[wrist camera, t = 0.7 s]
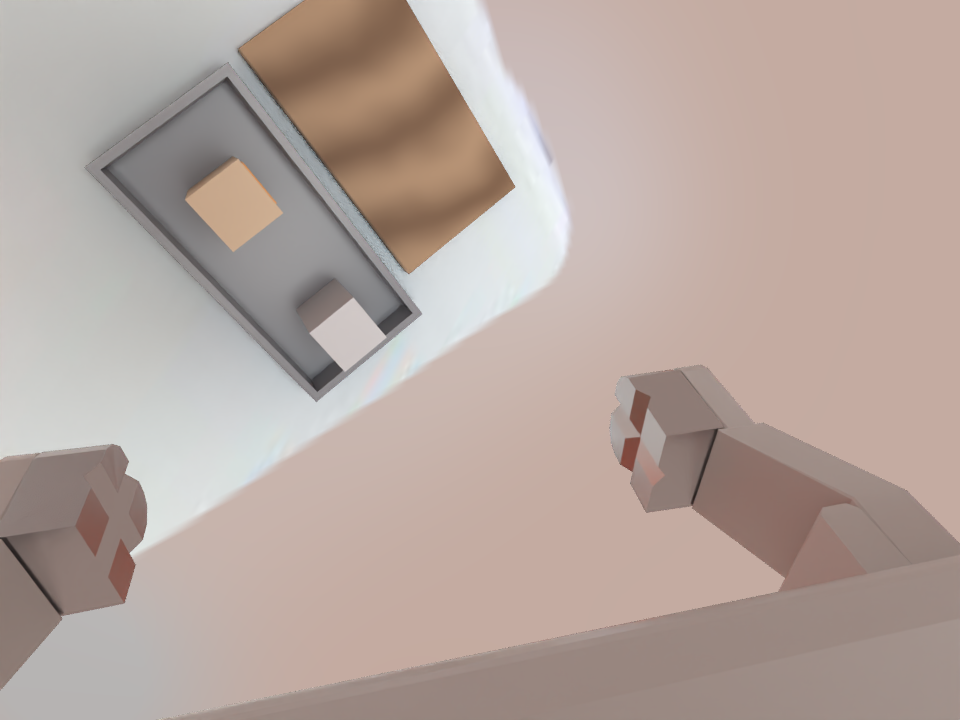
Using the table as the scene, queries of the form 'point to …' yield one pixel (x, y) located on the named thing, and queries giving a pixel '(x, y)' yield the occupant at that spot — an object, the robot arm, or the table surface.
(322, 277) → the bin
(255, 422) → the table surface
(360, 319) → the plain box
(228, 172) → the labelled box
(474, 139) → the pad
